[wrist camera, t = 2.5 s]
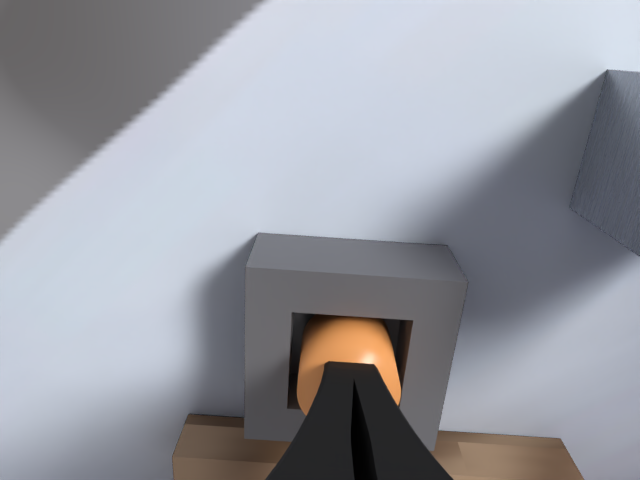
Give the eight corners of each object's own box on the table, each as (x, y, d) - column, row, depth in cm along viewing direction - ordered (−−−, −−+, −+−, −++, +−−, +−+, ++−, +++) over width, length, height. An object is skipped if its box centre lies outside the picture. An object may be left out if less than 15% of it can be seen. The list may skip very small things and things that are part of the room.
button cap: (395, 306, 15) (407, 353, 13) (385, 381, 16) (394, 437, 14) (304, 300, 15) (299, 346, 12) (299, 375, 16) (294, 431, 14)
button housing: (447, 245, 15) (468, 282, 13) (420, 397, 18) (433, 450, 15) (258, 232, 15) (245, 267, 13) (255, 386, 18) (244, 438, 15)
